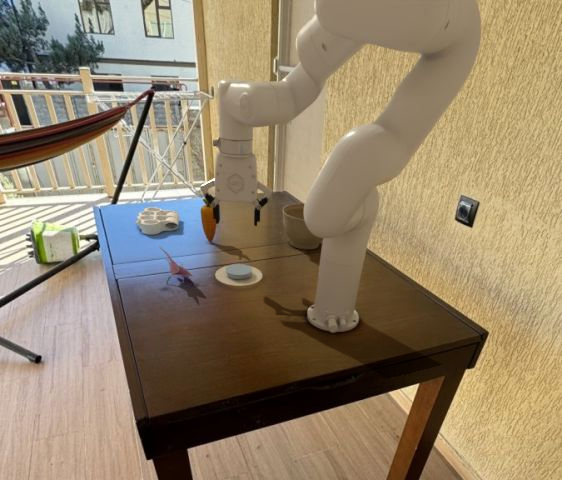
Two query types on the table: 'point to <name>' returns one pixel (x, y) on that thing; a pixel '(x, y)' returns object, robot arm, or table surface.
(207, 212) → the carrot
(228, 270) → the blue-grey cylinder
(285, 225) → the planter bowl
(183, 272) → the lily
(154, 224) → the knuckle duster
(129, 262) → the table surface
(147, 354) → the table surface
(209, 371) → the table surface
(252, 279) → the dessert plate
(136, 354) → the table surface
